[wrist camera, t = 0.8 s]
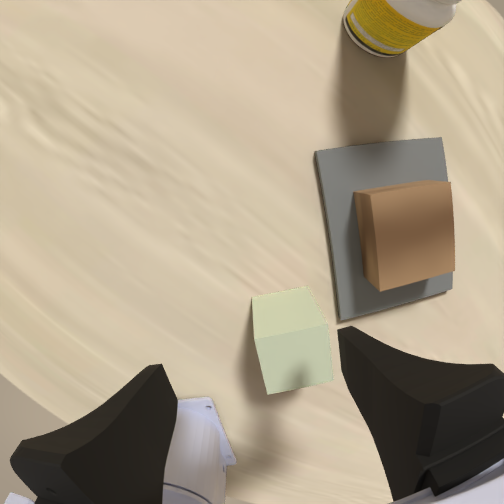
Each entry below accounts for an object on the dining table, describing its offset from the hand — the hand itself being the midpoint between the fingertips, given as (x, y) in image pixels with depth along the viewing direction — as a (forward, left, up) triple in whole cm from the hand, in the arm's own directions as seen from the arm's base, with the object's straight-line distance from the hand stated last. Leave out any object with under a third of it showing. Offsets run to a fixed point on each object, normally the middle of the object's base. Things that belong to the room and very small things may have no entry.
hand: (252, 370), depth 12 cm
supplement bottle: (+17, -13, -11) cm, 24 cm away
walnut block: (+2, -11, -10) cm, 15 cm away
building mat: (+2, -11, -10) cm, 15 cm away
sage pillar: (-3, -2, -10) cm, 11 cm away
